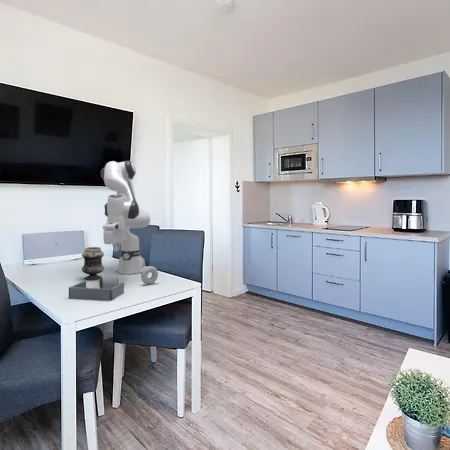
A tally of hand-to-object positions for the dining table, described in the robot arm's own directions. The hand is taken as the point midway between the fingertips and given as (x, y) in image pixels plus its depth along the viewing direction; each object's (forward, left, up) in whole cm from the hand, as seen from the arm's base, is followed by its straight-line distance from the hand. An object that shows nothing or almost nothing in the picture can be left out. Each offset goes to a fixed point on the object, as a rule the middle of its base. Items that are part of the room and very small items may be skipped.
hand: (116, 250), depth 175 cm
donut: (-4, +17, -19) cm, 26 cm away
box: (+20, 0, -19) cm, 27 cm away
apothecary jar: (-11, -20, -19) cm, 30 cm away
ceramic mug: (+9, -1, -19) cm, 21 cm away
